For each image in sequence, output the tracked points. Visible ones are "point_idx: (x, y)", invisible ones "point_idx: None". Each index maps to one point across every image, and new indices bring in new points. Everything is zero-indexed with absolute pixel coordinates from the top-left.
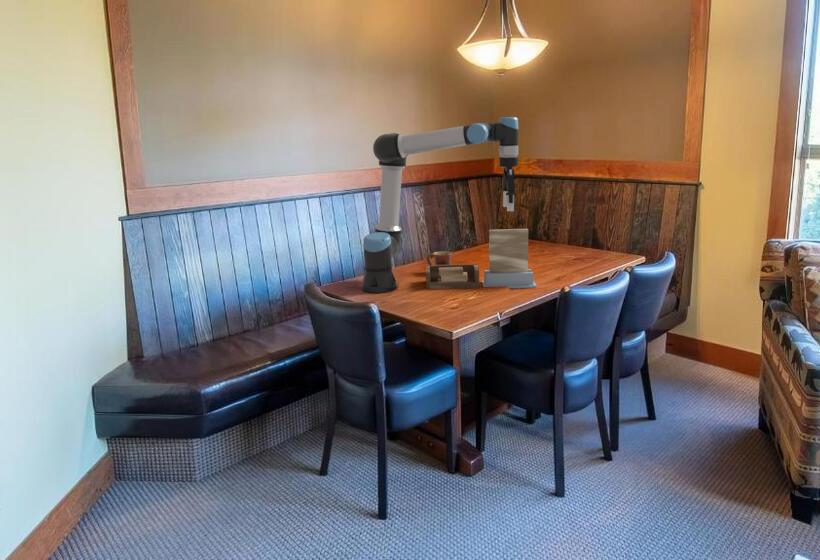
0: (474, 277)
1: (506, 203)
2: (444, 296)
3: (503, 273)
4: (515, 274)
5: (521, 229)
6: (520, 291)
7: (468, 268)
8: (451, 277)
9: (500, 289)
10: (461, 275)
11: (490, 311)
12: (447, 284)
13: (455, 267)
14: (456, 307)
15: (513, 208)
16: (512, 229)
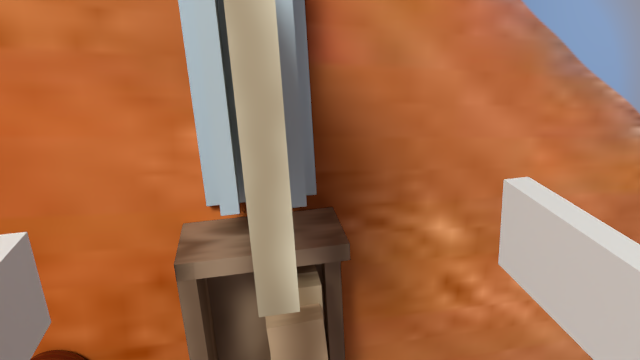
0: None
1: (22, 310)
2: (415, 324)
3: (295, 116)
4: (295, 50)
5: (265, 29)
6: (363, 24)
7: (200, 293)
8: None
9: (324, 116)
10: (322, 309)
11: (623, 156)
12: (343, 340)
13: (279, 355)
14: None
15: (548, 195)
16: (257, 120)
